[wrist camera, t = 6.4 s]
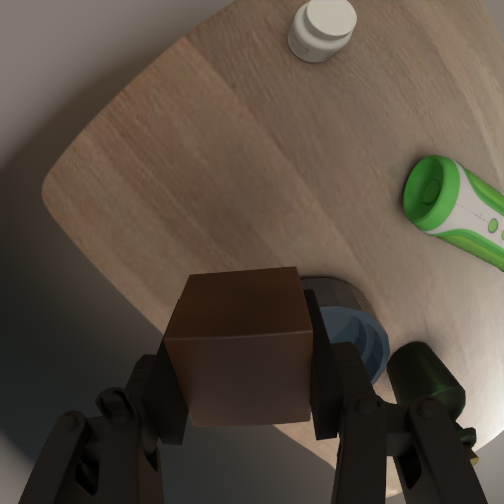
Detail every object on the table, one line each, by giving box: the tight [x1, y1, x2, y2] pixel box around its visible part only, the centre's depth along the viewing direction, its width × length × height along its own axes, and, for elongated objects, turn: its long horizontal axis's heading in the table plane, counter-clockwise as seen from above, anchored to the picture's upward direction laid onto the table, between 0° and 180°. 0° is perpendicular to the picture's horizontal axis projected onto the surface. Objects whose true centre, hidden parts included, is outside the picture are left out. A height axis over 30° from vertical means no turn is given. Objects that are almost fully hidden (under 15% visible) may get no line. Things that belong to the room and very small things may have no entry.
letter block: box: [164, 266, 313, 426], centre depth 13 cm, size 5×5×5 cm
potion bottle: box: [387, 343, 479, 466], centre depth 28 cm, size 8×8×18 cm
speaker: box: [403, 155, 504, 272], centre depth 25 cm, size 18×7×8 cm, turn 72°
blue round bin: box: [300, 278, 390, 412], centre depth 31 cm, size 14×14×6 cm
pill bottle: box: [288, 0, 357, 63], centre depth 19 cm, size 4×4×8 cm
